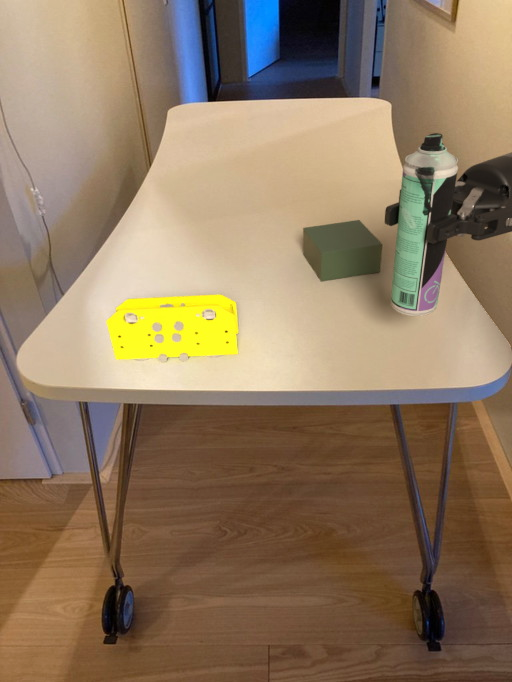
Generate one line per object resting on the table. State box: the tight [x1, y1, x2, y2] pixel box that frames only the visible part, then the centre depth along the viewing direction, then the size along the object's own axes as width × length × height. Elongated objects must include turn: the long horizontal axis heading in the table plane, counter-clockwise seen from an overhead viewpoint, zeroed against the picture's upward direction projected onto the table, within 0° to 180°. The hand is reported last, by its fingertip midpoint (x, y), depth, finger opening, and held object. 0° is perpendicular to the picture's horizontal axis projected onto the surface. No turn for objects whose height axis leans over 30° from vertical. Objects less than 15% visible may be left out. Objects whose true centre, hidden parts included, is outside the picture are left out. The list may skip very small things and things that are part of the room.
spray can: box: [390, 132, 459, 317], centre depth 61 cm, size 6×6×20 cm
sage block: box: [302, 219, 383, 282], centre depth 90 cm, size 10×10×5 cm
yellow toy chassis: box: [105, 293, 240, 364], centre depth 72 cm, size 16×6×8 cm, turn 90°
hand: (408, 225), depth 59 cm, fingers closed on spray can, 5 cm apart
